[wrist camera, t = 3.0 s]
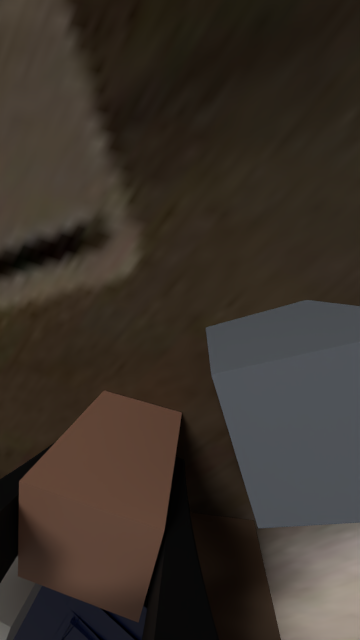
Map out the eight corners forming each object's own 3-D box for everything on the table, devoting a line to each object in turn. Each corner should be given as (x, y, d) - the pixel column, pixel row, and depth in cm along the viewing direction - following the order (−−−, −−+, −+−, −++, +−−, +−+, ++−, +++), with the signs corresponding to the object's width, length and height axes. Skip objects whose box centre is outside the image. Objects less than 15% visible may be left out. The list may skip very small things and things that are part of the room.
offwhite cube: (85, 494, 12) (10, 627, 7) (66, 539, 13) (-11, 684, 8) (25, 464, 12) (-87, 575, 8) (11, 511, 13) (-97, 636, 8)
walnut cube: (253, 519, 11) (295, 701, 6) (250, 571, 12) (284, 766, 7) (178, 509, 12) (162, 668, 7) (181, 560, 13) (169, 731, 8)
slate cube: (305, 300, 8) (461, 318, 3) (323, 390, 9) (472, 515, 4) (205, 327, 9) (211, 374, 4) (229, 407, 10) (258, 528, 5)
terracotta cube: (181, 412, 10) (164, 530, 5) (165, 475, 11) (138, 622, 6) (103, 390, 10) (19, 481, 6) (95, 453, 11) (18, 576, 7)
